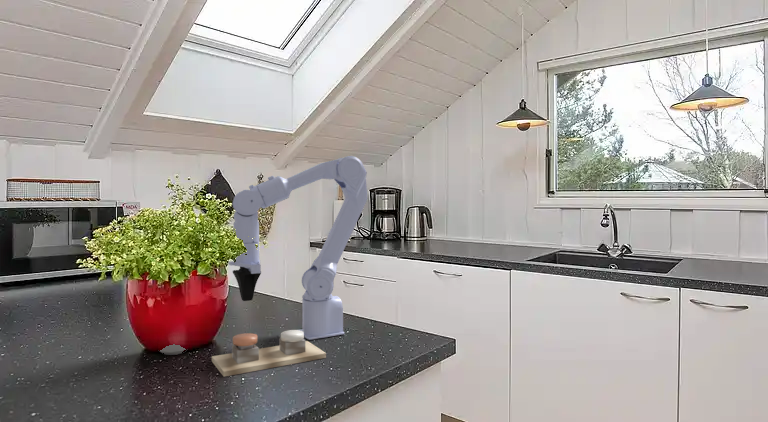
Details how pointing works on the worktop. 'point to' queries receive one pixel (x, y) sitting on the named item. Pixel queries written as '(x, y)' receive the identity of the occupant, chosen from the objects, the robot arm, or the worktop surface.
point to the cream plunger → (292, 336)
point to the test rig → (266, 357)
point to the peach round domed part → (245, 340)
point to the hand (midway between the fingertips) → (247, 300)
